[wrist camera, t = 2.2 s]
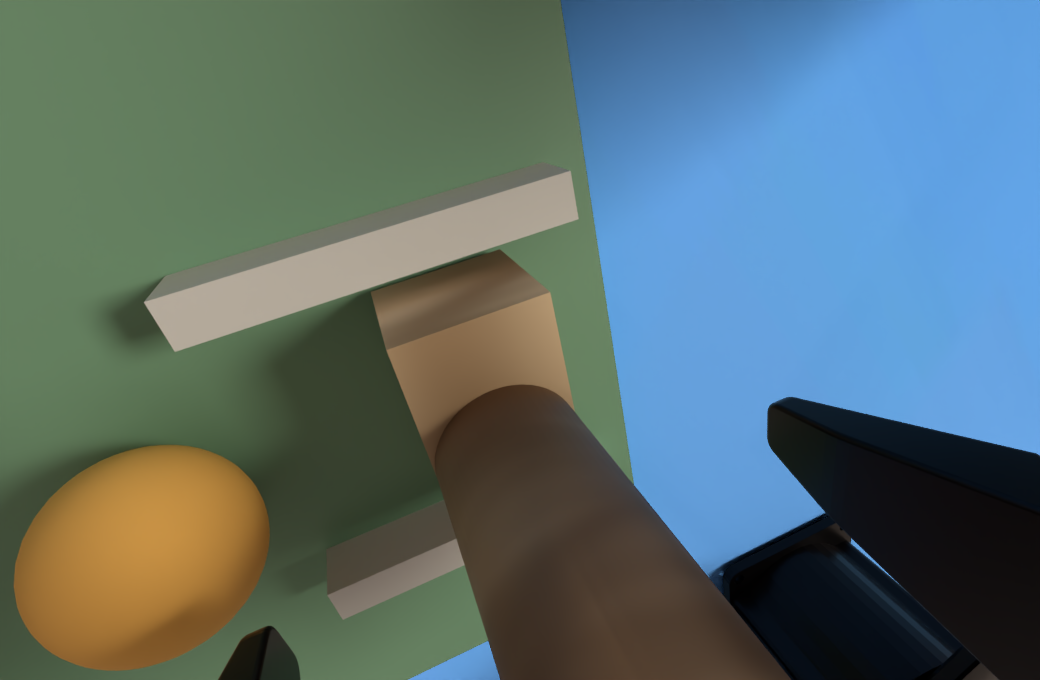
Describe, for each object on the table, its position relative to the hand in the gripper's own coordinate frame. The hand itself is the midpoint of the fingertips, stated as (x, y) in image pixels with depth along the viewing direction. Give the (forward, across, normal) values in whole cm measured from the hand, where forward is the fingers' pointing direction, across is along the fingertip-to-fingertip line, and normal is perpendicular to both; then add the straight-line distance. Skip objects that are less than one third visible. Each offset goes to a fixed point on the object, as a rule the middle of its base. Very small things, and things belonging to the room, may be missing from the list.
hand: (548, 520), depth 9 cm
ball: (+3, +7, 0) cm, 8 cm away
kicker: (+5, 0, 0) cm, 5 cm away
